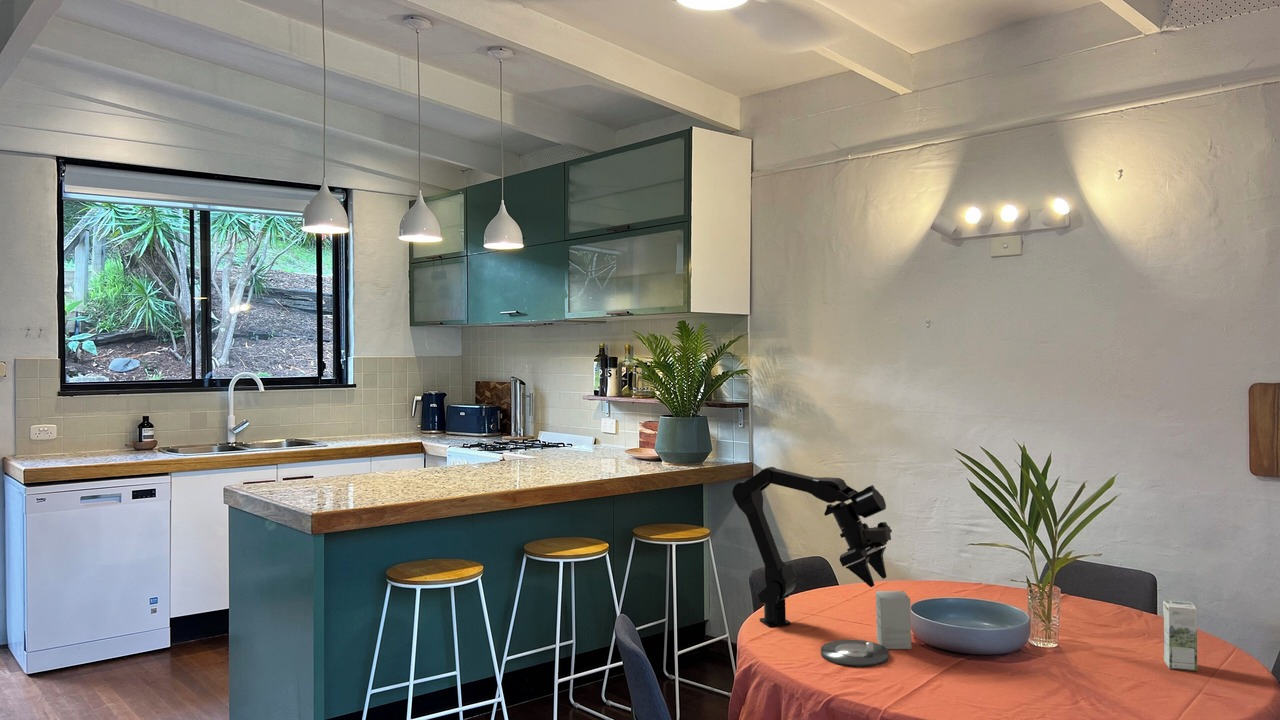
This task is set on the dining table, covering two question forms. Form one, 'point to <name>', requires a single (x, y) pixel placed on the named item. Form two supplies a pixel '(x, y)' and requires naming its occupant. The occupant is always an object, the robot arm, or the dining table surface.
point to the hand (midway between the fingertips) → (878, 582)
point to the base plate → (854, 653)
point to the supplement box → (893, 619)
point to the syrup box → (1180, 635)
